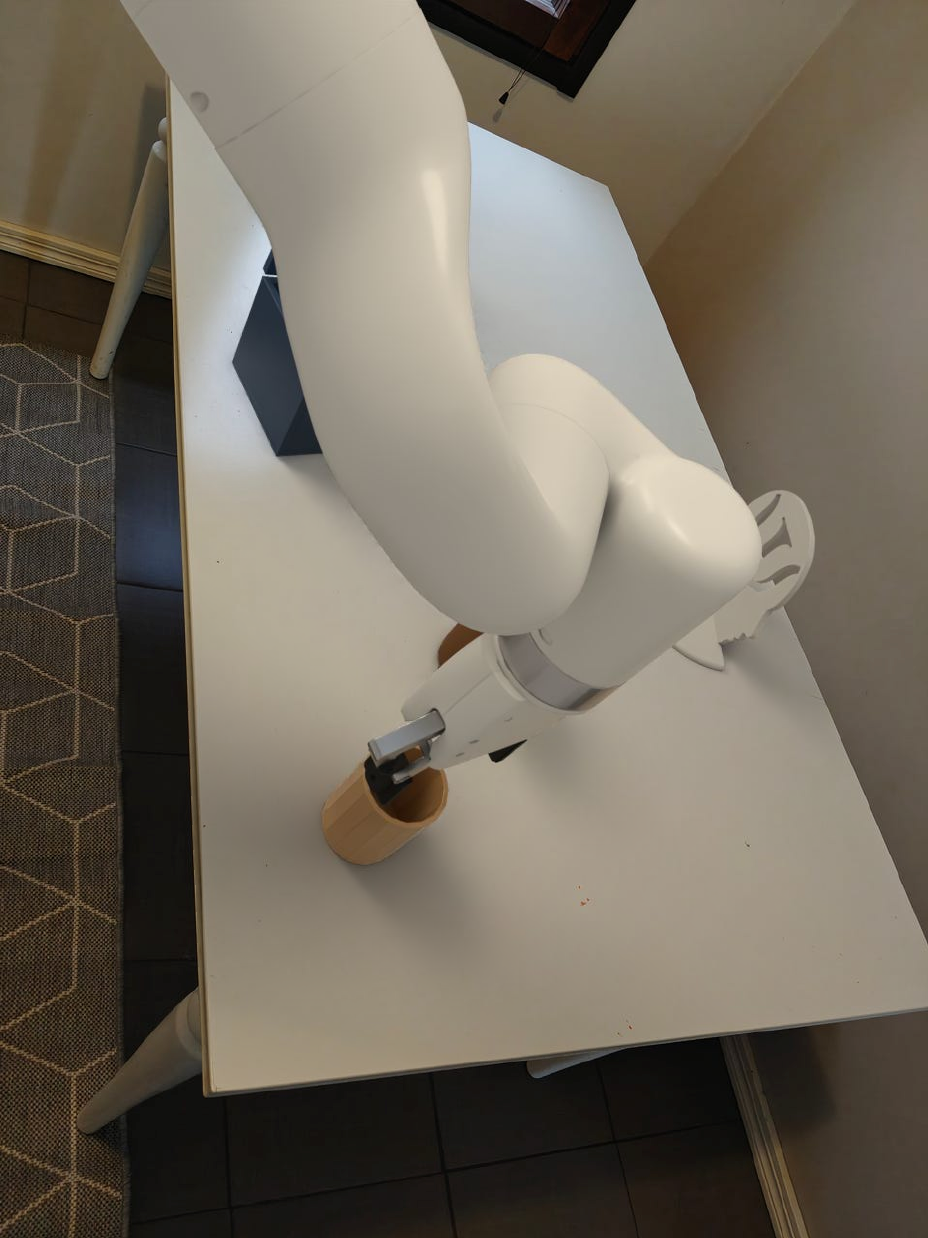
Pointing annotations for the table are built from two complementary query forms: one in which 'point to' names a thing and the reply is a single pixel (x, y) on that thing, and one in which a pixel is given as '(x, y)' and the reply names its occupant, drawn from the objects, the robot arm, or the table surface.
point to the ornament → (758, 580)
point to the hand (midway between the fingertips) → (434, 763)
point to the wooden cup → (381, 813)
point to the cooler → (274, 375)
